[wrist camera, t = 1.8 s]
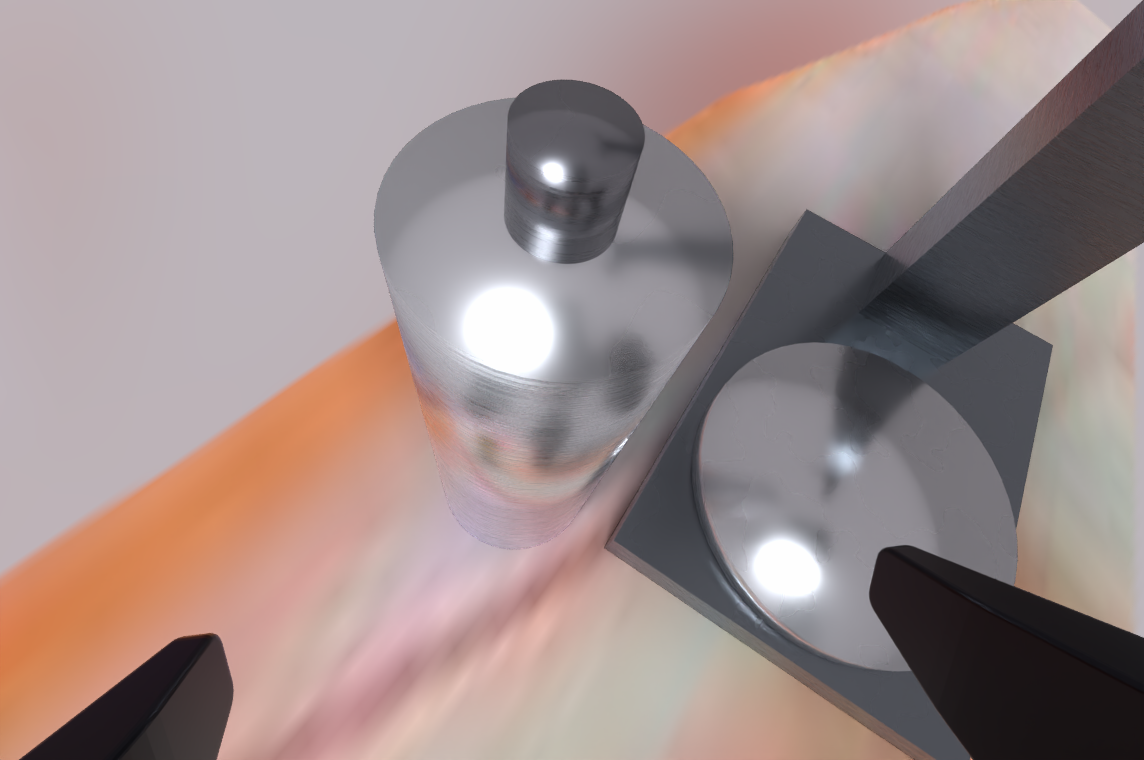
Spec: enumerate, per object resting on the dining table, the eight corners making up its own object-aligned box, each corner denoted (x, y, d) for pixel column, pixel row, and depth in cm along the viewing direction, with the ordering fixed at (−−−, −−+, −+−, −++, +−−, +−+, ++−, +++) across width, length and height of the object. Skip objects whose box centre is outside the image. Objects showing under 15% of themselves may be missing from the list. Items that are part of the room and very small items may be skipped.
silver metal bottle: (600, 533, 19) (855, 282, 6) (453, 563, 18) (360, 337, 5) (569, 402, 21) (706, -1, 8) (436, 422, 20) (338, -10, 7)
